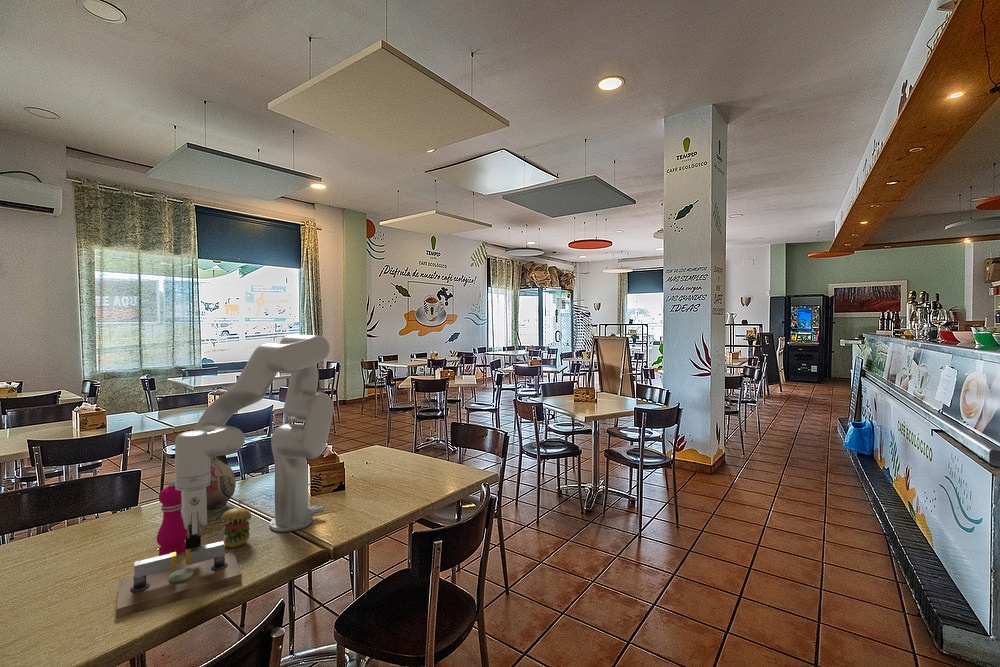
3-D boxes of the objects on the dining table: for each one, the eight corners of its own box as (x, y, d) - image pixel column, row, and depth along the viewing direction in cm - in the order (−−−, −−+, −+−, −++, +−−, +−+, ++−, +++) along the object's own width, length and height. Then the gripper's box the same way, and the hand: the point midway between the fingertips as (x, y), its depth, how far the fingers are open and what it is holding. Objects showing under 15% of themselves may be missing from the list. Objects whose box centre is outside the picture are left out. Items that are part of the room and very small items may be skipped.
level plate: (233, 558, 128) (233, 547, 128) (241, 582, 117) (241, 570, 117) (119, 588, 114) (119, 575, 113) (116, 618, 102) (116, 604, 102)
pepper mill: (172, 559, 127) (171, 486, 126) (150, 556, 129) (148, 484, 128) (194, 546, 134) (193, 477, 134) (173, 544, 136) (172, 475, 135)
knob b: (133, 589, 109) (133, 566, 108) (133, 585, 111) (133, 561, 110) (176, 578, 114) (176, 555, 113) (176, 574, 115) (175, 551, 115)
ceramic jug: (176, 522, 150) (175, 428, 149) (188, 504, 164) (187, 418, 163) (237, 515, 156) (236, 424, 155) (244, 498, 170) (243, 415, 169)
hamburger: (216, 550, 132) (216, 508, 132) (227, 538, 139) (227, 498, 139) (246, 548, 133) (246, 506, 133) (255, 537, 140) (255, 497, 140)
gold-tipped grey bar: (224, 561, 122) (224, 540, 121) (225, 565, 120) (225, 543, 119) (185, 571, 117) (185, 549, 116) (186, 575, 115) (186, 553, 115)
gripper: (213, 485, 117) (213, 558, 118) (207, 470, 129) (207, 536, 130) (176, 491, 113) (177, 567, 113) (174, 475, 125) (174, 543, 125)
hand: (193, 550), depth 121 cm, fingers closed
